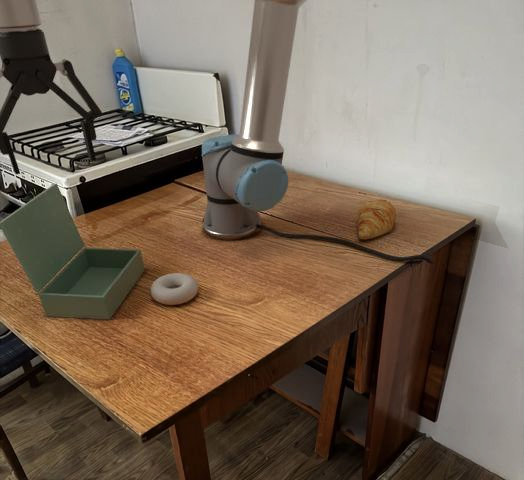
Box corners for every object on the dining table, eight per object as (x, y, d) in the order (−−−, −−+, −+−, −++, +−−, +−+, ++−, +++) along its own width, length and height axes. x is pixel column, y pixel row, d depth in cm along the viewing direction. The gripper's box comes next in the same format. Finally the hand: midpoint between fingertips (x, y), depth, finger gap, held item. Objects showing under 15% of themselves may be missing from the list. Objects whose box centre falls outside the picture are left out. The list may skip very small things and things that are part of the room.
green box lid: (56, 183, 106) (53, 183, 106) (1, 222, 89) (-3, 223, 90) (85, 245, 114) (82, 246, 114) (39, 291, 98) (35, 292, 98)
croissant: (371, 258, 123) (389, 233, 117) (338, 234, 123) (354, 209, 117) (394, 223, 137) (411, 200, 132) (365, 203, 138) (380, 179, 132)
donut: (142, 301, 105) (178, 312, 100) (139, 286, 103) (176, 297, 98) (173, 280, 111) (208, 290, 107) (170, 266, 109) (206, 276, 105)
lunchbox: (145, 270, 115) (140, 249, 112) (109, 319, 99) (103, 297, 96) (89, 267, 117) (84, 247, 114) (46, 316, 101) (38, 294, 98)
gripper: (90, 22, 87) (115, 149, 99) (-71, 34, 77) (-20, 172, 90) (101, 24, 81) (127, 158, 94) (-70, 37, 72) (-15, 184, 85)
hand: (55, 165), depth 92 cm, fingers open, 13 cm apart
